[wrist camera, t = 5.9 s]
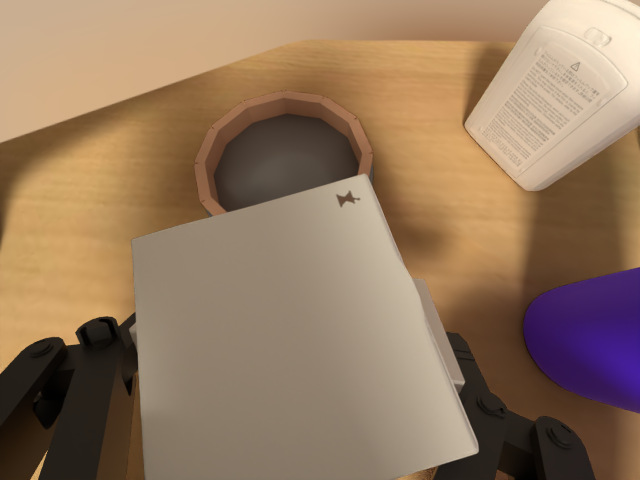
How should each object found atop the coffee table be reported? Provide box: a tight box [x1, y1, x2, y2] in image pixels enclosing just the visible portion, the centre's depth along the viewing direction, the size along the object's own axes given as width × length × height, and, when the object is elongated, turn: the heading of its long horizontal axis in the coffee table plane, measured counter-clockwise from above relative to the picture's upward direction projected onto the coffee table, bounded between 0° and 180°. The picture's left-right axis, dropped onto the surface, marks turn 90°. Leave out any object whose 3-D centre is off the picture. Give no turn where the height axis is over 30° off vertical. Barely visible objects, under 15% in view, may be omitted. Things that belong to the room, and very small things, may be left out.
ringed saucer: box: [194, 90, 373, 217], centre depth 26 cm, size 17×17×3 cm
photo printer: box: [465, 0, 640, 191], centre depth 21 cm, size 10×4×12 cm, turn 30°
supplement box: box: [131, 174, 479, 480], centre depth 15 cm, size 9×9×15 cm
